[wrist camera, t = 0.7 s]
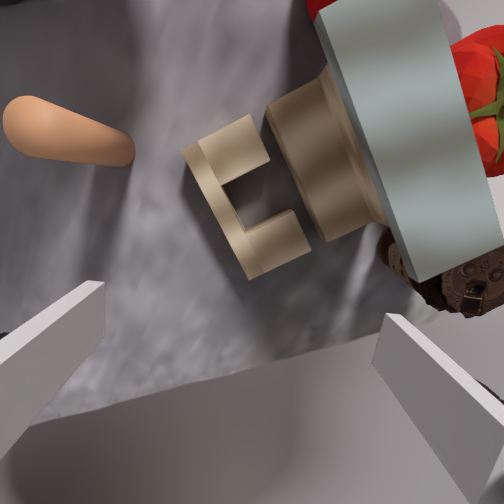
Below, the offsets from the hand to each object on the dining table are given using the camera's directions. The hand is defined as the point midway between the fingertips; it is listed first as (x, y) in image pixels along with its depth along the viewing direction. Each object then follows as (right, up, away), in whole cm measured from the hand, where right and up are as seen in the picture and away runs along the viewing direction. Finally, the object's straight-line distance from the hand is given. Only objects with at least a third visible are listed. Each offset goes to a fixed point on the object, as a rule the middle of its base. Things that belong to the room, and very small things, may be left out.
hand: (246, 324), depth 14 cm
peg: (-15, +15, +20) cm, 30 cm away
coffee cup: (+20, +4, +24) cm, 31 cm away
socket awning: (+4, +12, +21) cm, 25 cm away
